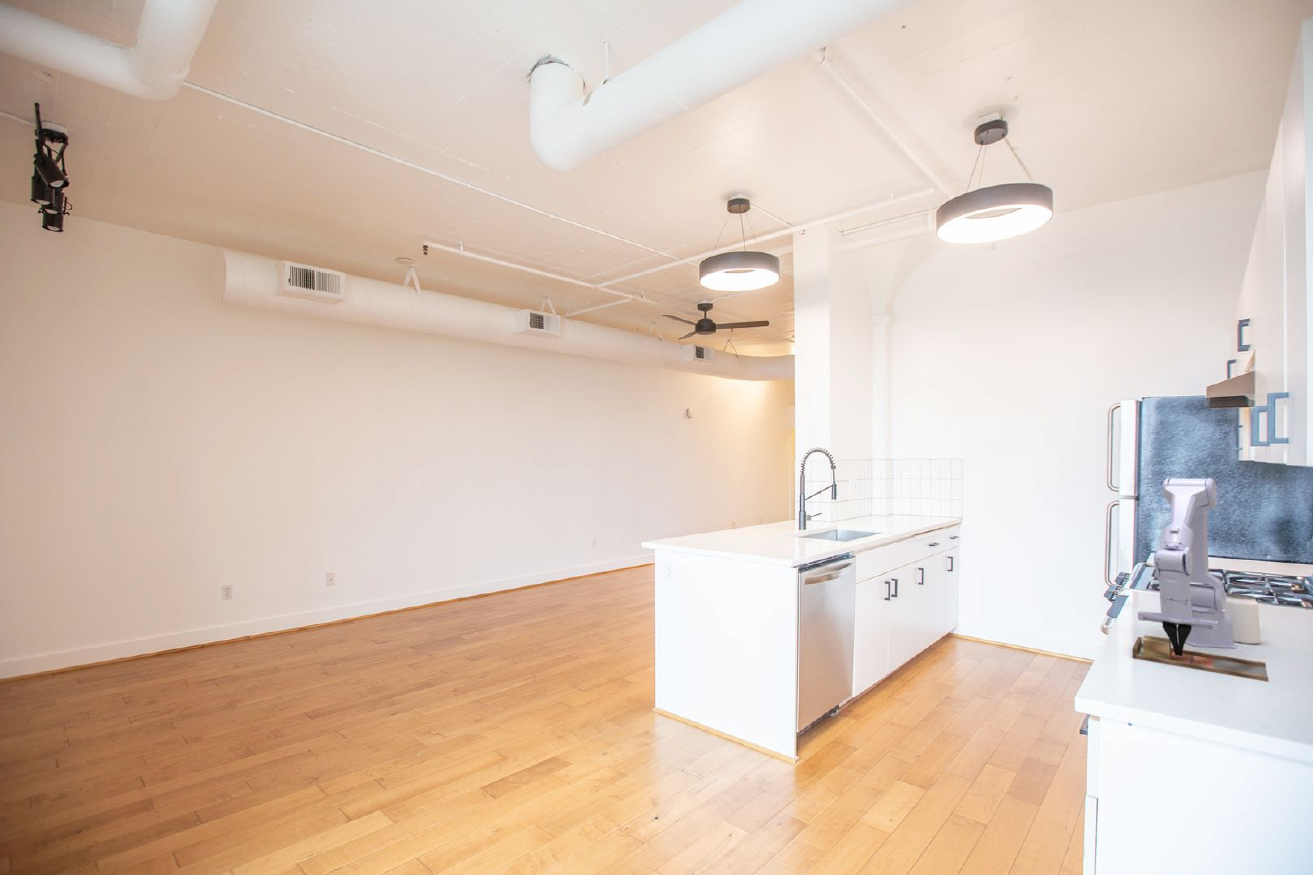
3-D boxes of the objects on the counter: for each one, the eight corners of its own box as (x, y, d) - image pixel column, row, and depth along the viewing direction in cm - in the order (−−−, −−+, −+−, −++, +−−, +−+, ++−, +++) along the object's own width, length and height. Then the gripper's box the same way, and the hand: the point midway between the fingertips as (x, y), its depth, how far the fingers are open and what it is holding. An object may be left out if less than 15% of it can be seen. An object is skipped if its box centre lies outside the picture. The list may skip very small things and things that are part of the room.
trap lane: (1265, 666, 135) (1264, 656, 135) (1268, 682, 126) (1267, 670, 126) (1138, 646, 151) (1138, 636, 151) (1132, 658, 142) (1132, 648, 142)
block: (1171, 655, 144) (1170, 638, 144) (1170, 660, 140) (1169, 643, 140) (1145, 650, 147) (1144, 635, 147) (1143, 655, 144) (1142, 639, 144)
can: (1267, 645, 150) (1264, 599, 151) (1238, 644, 152) (1235, 598, 152) (1247, 637, 157) (1244, 593, 157) (1220, 637, 158) (1217, 592, 159)
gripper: (1135, 597, 144) (1138, 652, 143) (1216, 606, 134) (1219, 665, 133) (1138, 592, 149) (1141, 645, 148) (1216, 600, 139) (1220, 657, 138)
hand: (1178, 654), depth 141 cm, fingers closed
